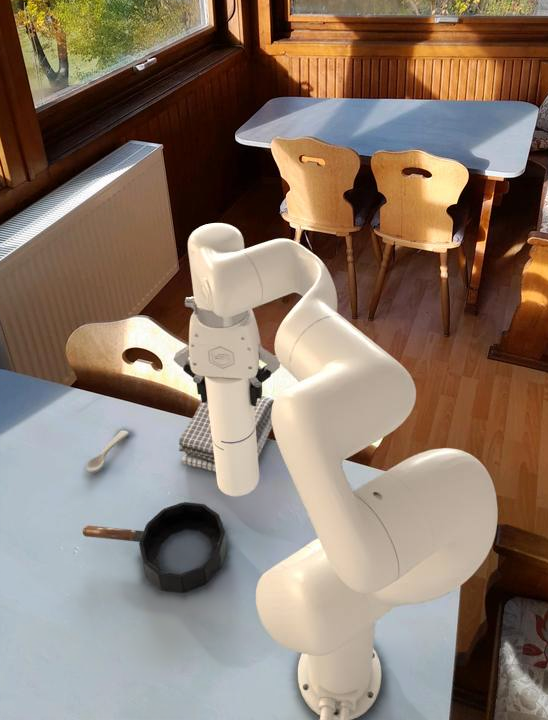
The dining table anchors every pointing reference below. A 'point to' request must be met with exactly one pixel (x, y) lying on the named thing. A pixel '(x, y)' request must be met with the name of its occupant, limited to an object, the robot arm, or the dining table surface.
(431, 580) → the robot arm
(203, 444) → the towel
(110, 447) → the spoon
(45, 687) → the dining table surface
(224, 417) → the cylindrical container
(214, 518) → the pan
